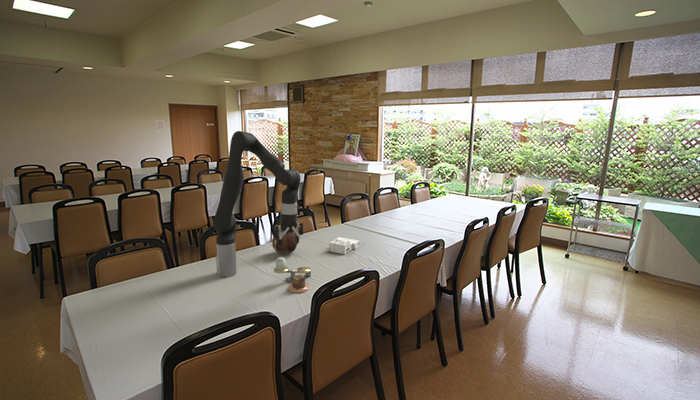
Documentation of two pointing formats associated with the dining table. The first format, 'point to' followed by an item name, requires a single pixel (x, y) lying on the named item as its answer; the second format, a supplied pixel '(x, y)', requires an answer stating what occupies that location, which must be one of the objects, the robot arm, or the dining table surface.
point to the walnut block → (298, 282)
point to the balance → (299, 270)
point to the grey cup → (280, 264)
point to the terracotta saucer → (298, 289)
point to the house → (343, 245)
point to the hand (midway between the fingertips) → (288, 244)
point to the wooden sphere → (285, 244)
